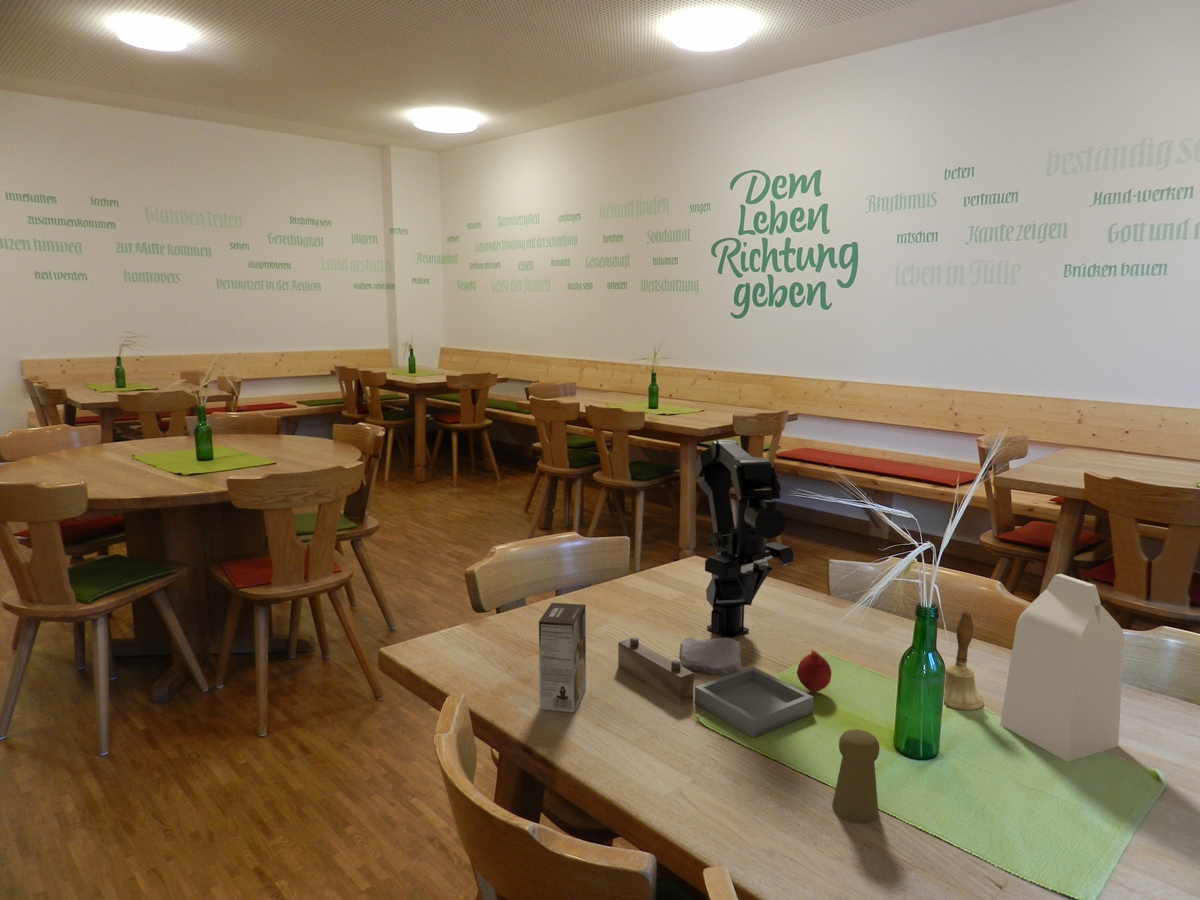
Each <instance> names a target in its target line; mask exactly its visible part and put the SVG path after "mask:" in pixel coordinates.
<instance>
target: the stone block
mask: <svg viewBox="0 0 1200 900" xmlns="http://www.w3.org/2000/svg"><path fill="white" fill-rule="evenodd" d="M678 655H679V657H680V662H681V666H682V667H684V668H686V669H688V670H689V671H692V672H701V673H706V674H711V675H719V676H723V677H724V676H727V675H730V674H733V673H736V672H739V671H742V670H743V667H742V663H741V657H740V655H741V643H740V642H739V641H738V640H735V639H733V638H732V637H730V638H726V637H721V638H712V639H708V640H702V639H701V640H700V639H696V638H693V637H687V638H685V639H683V640H682V641H681V642H680V647H679V654H678Z"/></svg>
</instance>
